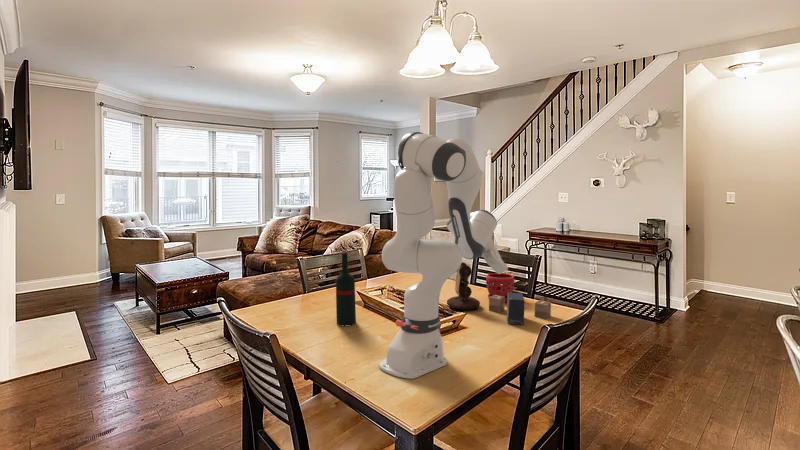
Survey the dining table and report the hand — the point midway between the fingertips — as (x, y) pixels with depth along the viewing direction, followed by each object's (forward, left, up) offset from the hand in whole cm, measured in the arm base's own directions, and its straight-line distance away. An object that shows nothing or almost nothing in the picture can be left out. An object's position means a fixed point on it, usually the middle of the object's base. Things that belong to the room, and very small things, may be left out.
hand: (506, 268), depth 158 cm
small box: (+11, +1, -24) cm, 26 cm away
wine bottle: (-32, +55, -24) cm, 68 cm away
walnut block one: (+23, -6, -24) cm, 34 cm away
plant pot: (+35, +19, -24) cm, 46 cm away
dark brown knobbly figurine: (+14, +27, -24) cm, 38 cm away
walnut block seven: (+19, +13, -24) cm, 33 cm away
